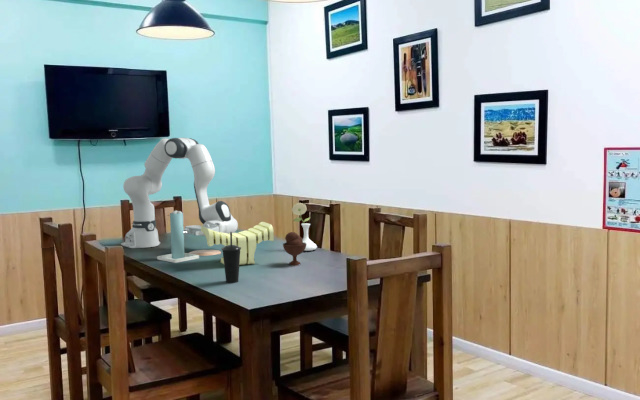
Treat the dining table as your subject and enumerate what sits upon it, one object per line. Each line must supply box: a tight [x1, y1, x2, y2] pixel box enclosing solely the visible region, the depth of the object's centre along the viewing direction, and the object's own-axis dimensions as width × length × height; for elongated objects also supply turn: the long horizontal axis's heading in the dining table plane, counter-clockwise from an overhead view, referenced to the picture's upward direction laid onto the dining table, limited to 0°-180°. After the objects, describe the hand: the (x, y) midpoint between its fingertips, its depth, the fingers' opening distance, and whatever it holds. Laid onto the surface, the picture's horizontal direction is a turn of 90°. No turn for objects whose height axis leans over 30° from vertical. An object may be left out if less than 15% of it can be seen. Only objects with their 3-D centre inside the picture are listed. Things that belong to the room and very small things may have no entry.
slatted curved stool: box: [200, 221, 275, 266], centre depth 268 cm, size 30×16×18 cm, turn 115°
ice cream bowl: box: [282, 231, 306, 266], centre depth 264 cm, size 11×11×15 cm
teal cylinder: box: [169, 210, 185, 259], centre depth 277 cm, size 6×6×23 cm
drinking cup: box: [221, 232, 241, 284], centre depth 231 cm, size 8×8×20 cm
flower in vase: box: [291, 202, 318, 252], centre depth 300 cm, size 13×11×25 cm
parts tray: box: [156, 252, 200, 264], centre depth 278 cm, size 14×14×2 cm
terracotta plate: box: [188, 249, 222, 257], centre depth 293 cm, size 16×16×1 cm
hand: (188, 232), depth 282 cm, fingers open, 8 cm apart
